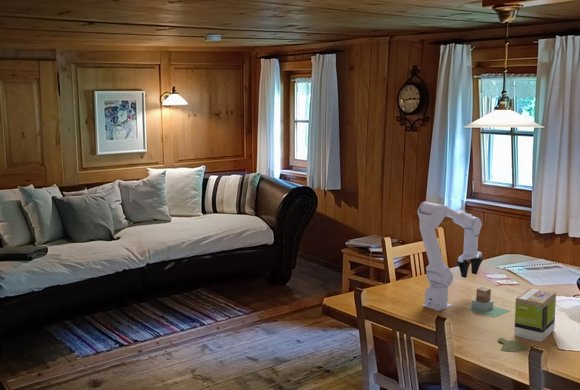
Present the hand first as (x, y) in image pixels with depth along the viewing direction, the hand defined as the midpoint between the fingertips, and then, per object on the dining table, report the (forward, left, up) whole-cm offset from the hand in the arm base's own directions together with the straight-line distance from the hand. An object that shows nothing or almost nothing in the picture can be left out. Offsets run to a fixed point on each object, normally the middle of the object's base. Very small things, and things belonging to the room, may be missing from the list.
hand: (469, 275), depth 271 cm
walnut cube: (-7, -12, -7) cm, 15 cm away
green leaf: (-34, -43, -10) cm, 56 cm away
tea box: (-16, -39, -10) cm, 43 cm away
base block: (-7, -12, -10) cm, 17 cm away
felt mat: (-8, -15, -10) cm, 19 cm away
